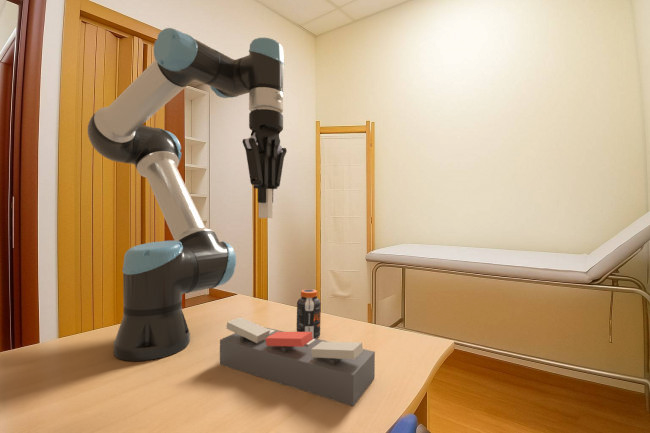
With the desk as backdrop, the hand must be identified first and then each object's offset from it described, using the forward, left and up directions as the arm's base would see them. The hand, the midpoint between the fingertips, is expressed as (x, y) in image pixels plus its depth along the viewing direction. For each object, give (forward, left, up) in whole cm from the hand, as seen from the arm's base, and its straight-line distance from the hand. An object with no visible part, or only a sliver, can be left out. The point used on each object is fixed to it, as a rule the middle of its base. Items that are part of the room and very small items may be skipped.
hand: (265, 217), depth 73 cm
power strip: (+12, -6, -29) cm, 32 cm away
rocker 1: (+2, -8, -23) cm, 24 cm away
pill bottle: (+5, +11, -30) cm, 32 cm away
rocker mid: (+12, -8, -23) cm, 27 cm away
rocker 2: (+22, -8, -23) cm, 32 cm away
